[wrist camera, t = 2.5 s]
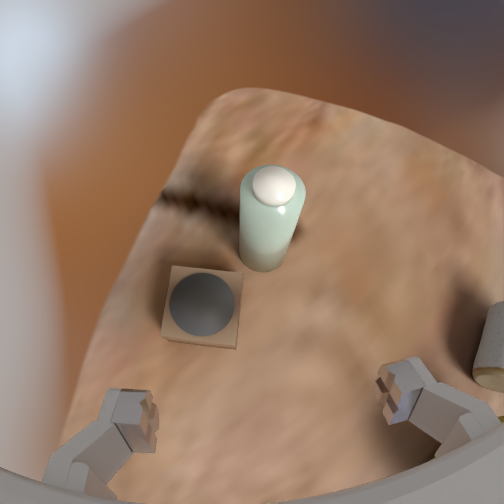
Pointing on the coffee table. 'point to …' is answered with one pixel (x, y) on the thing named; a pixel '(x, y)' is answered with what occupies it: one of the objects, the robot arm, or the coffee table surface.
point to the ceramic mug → (491, 351)
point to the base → (202, 307)
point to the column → (268, 215)
